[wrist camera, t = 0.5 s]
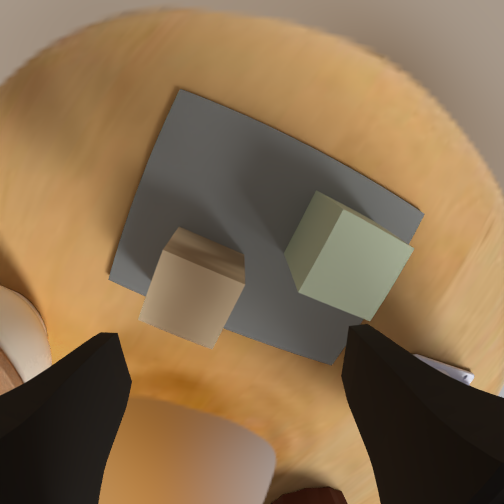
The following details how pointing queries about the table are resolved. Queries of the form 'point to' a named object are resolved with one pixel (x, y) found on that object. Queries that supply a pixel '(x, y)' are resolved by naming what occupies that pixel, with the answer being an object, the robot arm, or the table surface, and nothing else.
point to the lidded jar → (21, 341)
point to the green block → (344, 257)
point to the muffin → (312, 497)
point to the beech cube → (194, 288)
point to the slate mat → (248, 217)
